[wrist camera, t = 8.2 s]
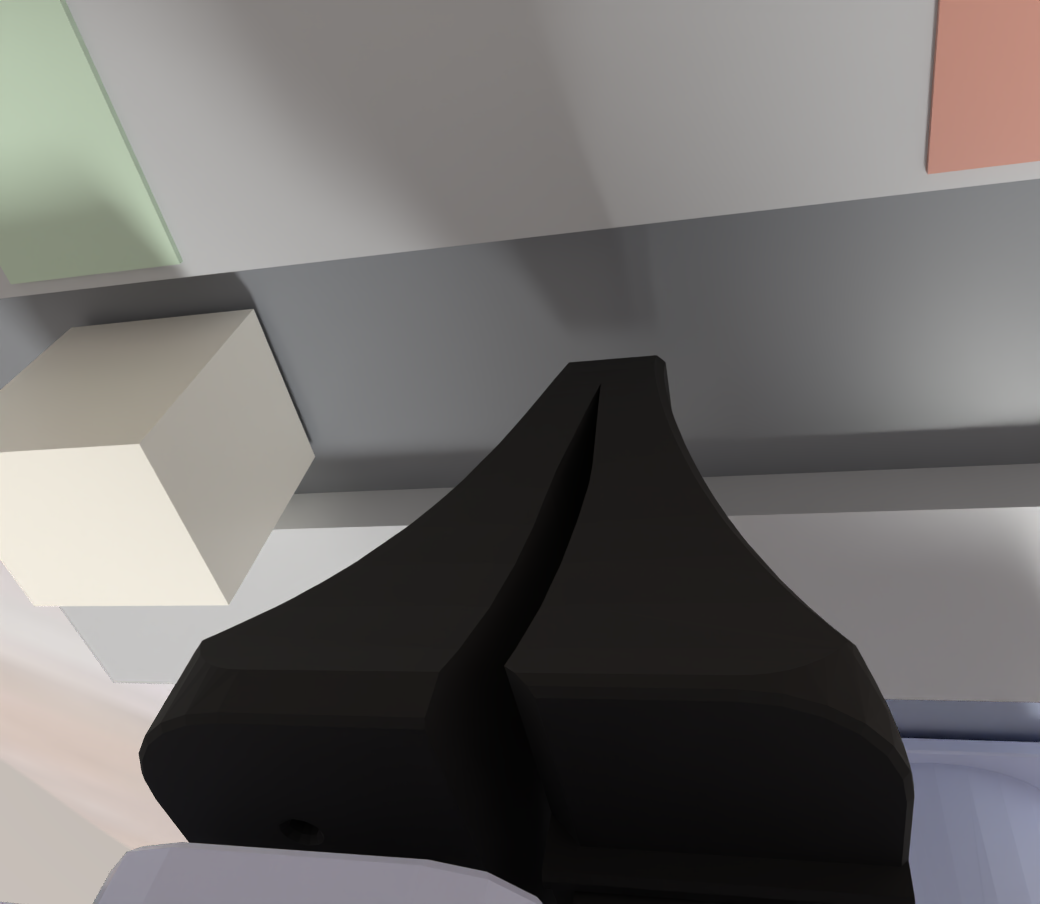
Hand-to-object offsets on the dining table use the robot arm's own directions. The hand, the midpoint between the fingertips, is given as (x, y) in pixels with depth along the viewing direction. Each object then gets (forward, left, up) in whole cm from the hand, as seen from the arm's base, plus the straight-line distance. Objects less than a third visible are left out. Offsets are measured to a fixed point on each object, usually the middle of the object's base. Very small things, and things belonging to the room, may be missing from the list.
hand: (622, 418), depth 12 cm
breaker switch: (0, +8, -1) cm, 8 cm away
